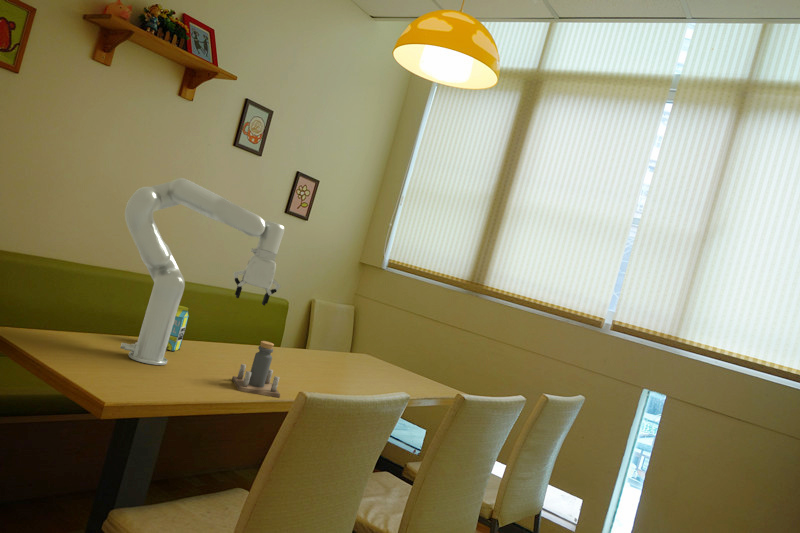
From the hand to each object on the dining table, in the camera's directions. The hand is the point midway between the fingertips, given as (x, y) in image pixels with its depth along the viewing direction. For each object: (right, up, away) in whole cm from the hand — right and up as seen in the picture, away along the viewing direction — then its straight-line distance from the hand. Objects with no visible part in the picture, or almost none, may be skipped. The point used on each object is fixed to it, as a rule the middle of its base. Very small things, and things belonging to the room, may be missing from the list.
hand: (250, 301), depth 220 cm
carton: (-35, -19, +15) cm, 43 cm away
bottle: (+4, -28, -8) cm, 30 cm away
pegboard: (+4, -29, -8) cm, 31 cm away
